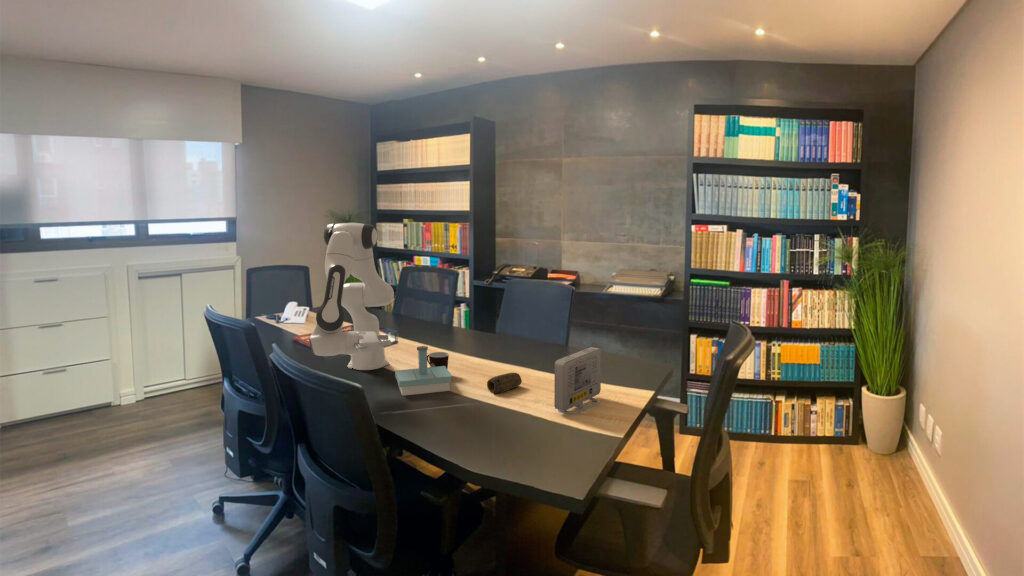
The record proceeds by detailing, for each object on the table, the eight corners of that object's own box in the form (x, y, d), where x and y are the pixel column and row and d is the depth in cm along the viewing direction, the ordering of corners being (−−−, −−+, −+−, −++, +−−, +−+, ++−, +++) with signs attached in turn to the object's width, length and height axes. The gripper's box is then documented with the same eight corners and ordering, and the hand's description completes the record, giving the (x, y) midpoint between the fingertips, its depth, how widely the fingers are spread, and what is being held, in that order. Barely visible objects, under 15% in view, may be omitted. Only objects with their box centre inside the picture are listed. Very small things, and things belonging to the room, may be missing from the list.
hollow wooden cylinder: (498, 396, 239) (498, 380, 238) (485, 393, 244) (485, 376, 243) (523, 387, 250) (523, 371, 249) (510, 383, 255) (510, 368, 254)
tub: (398, 386, 252) (397, 372, 251) (443, 382, 257) (443, 368, 256) (402, 397, 240) (401, 382, 239) (449, 391, 245) (449, 377, 244)
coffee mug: (451, 378, 262) (451, 355, 261) (432, 380, 259) (431, 358, 258) (444, 371, 273) (443, 349, 271) (425, 373, 270) (424, 351, 268)
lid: (395, 375, 252) (393, 345, 250) (445, 371, 258) (444, 340, 256) (399, 387, 238) (398, 354, 235) (452, 381, 244) (451, 349, 242)
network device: (587, 394, 241) (587, 345, 237) (606, 399, 235) (607, 348, 232) (549, 413, 221) (549, 359, 218) (569, 418, 216) (569, 364, 212)
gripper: (354, 340, 227) (392, 337, 231) (351, 329, 246) (386, 326, 250) (355, 356, 228) (392, 353, 232) (352, 344, 247) (387, 342, 251)
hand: (389, 339), depth 241 cm, fingers open, 8 cm apart
